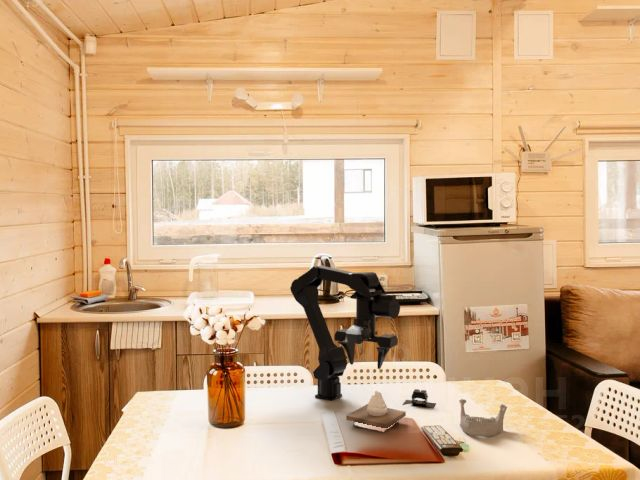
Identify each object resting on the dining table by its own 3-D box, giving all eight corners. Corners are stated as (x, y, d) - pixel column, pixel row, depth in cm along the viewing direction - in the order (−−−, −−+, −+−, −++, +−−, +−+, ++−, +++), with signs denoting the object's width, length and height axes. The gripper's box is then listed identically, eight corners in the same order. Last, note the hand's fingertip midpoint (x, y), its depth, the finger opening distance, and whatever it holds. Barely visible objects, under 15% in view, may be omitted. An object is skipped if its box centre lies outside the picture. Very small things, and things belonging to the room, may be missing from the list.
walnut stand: (346, 426, 167) (346, 415, 167) (367, 414, 177) (367, 403, 177) (386, 435, 160) (386, 424, 160) (405, 422, 170) (405, 411, 170)
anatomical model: (451, 432, 160) (454, 393, 164) (457, 436, 170) (459, 399, 173) (502, 439, 156) (504, 398, 159) (505, 442, 165) (507, 404, 168)
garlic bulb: (391, 391, 168) (378, 395, 164) (390, 413, 169) (377, 418, 165) (376, 387, 172) (362, 391, 168) (375, 408, 172) (362, 413, 169)
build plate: (442, 404, 188) (442, 390, 188) (437, 412, 181) (438, 396, 181) (402, 400, 192) (402, 385, 192) (396, 407, 185) (396, 392, 185)
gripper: (324, 315, 181) (324, 367, 182) (381, 321, 171) (381, 377, 172) (343, 310, 190) (343, 360, 191) (398, 316, 180) (398, 368, 181)
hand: (365, 366), depth 183 cm, fingers open, 9 cm apart
